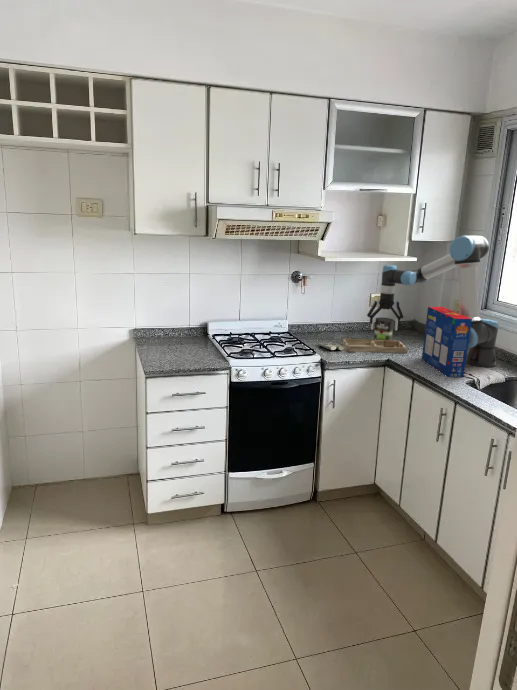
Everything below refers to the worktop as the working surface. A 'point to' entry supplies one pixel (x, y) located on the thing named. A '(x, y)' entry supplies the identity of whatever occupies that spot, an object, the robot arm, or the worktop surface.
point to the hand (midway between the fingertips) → (383, 329)
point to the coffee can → (383, 329)
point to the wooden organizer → (372, 346)
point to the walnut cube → (388, 343)
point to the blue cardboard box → (446, 341)
